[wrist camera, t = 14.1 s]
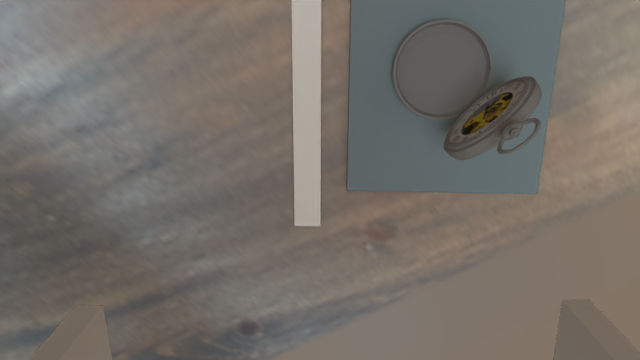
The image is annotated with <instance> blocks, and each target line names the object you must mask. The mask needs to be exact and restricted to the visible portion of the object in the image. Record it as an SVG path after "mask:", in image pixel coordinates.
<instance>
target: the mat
mask: <svg viewBox="0 0 640 360" xmlns="http://www.w3.org/2000/svg"><path fill="white" fill-rule="evenodd" d="M564 7H565V0H351V28H350V75H349V121H348V168H347V191H389V192H450V193H511V194H537V191H538V185H539V178H540V171H541V164H542V157H543V151H544V144H545V137H546V130H547V123H548V116H549V110H550V103H551V96H552V89H553V82H554V75H555V69H556V62H557V55H558V48H559V41H560V35H561V28H562V21H563V14H564ZM440 19H452V20H457V21H462V22H464V23H466V24H468V25H470V26H472V27H473V28H475V29H476V30H477V31H478V32H479V33H480V34H481V35H482V36H483V37H484V39H485V40H486V42H487V44H488V46H489V47H490V51H491V55H492V59H493V72H492V79H491V81H490V84H489V87H488V89H487V91H486V93H487V92H489V91H491V90H492V89H494V88H495V87H497V86H499V85H501V84H503V83H505V82H507V81H509V80H512V79H515V78H519V77H525V76H531V77H533V78H534V79H535V80H536V81H537V82H538V84H539V85H540V88H541V91H542V97H541V101H540V103H539V105H538V106H537V108H536V110H535V111H534V112H533V114H532V115H531V116H530V117H529V118H528V119H531V118H537V119H539V120H540V121H541V127H540V129H539V131H538V133H537V135H536V136H535V137H534V138H533V139H532V140H531V141H530V142H529V143H527V144H526V145H525V146H524V147H522V148H520V149H519V150H517V151H515V152H513V153H510V154H499V153H498V151H497V147H498V145H497V146H495V147H494V148H492V149H490V150H488V151H487V152H485V153H483V154H481V155H479V156H476V157H474V158H471V159H467V160H457V159H455V158H454V157H451V156H450V155H449V154H448V153H447V152H446V151H445V150H444V141H445V139H446V136H447V134H448V132H449V130H450V128H451V127H452V126H453V124H454V123H455V121H456V120H457V119H458V118H459V117H460V116H461V115H460V116H458V117H455V118H452V119H447V120H432V119H427V118H424V117H421V116H419V115H417V114H415V113H414V112H412V111H411V110H410V109H409V108H407V107H406V106H405V105H404V104H403V103H402V101H401V99H400V98H399V96H398V94H397V92H396V90H395V87H394V82H393V63H394V60H395V56H396V53H397V50H398V48H399V47H400V45H401V44H402V42H403V41H404V40H405V39H406V37H407V36H408V35H409V34H410V33H411V32H413V31H414V30H415V29H417V28H418V27H420V26H421V25H423V24H424V23H427V22H431V21H436V20H440ZM486 93H485V94H486ZM485 94H484V95H485ZM488 123H489V122H488ZM488 123H486V124H485V125H487V124H488ZM485 125H484V126H485ZM535 125H536V124H535V123H529V124H525V125H523V128H522V131H521V132H520V135H519V136H518V137H517V138H513V139H511V140H507V141H506V140H505V141H504V143H503V146H502V149H503V150H508V149H512V148H514V147H516V146H517V145H519V144H521V143H522V142H524V141H525V140H526V139H527V138H528V137H529V136H530V135H531V134H532V133H533V131H534V129H535ZM479 130H480V129H479Z"/></svg>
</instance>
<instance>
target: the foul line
mask: <svg viewBox="0 0 640 360" xmlns="http://www.w3.org/2000/svg"><path fill="white" fill-rule="evenodd" d="M292 68H293V144H294V220H295V226H320V225H321V0H292Z"/></svg>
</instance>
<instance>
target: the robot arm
mask: <svg viewBox="0 0 640 360" xmlns="http://www.w3.org/2000/svg"><path fill="white" fill-rule="evenodd" d="M29 360H112V355H111V350H110V344H109V338H108V333H107V327H106V321H105V316H104V310H103V306H76V307H75V308H74V309H73V310H72V311H71V312H70V314H69V315H68V316H67V317H66V318H65V319H64V320H63V321H62V323H61V324H60V325H59V326H58V327H57V328H56V329H55V331H54V332H53V333H52V334H51V335H50V336H49V337H48V338H47V340H46V341H45V342H44V343H43V344H42V345H41V346H40V348H39V349H38V350H37V351H36V352H35V353H34V354H33V355H32V357H31V358H30V359H29ZM553 360H640V351H639V350H638V349H637V348H636V347H635V346H634V345H633V344H632V343H631V342H630V341H629V340H628V339H627V338H626V337H625V336H624V335H623V334H622V333H621V332H620V331H619V330H618V329H617V328H616V326H615V325H614V324H613V323H612V322H611V321H610V320H609V319H608V318H607V317H606V316H605V315H604V314H603V313H602V312H601V311H600V310H599V309H598V308H597V307H596V306H595V305H594V304H593V303H592V302H591V301H590V300H589V299H578V300H577V299H574V300H573V299H572V300H562V303H561V311H560V317H559V324H558V331H557V337H556V344H555V351H554V357H553Z"/></svg>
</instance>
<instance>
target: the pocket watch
mask: <svg viewBox="0 0 640 360" xmlns="http://www.w3.org/2000/svg"><path fill="white" fill-rule="evenodd" d="M492 72H493V59H492V55H491V51H490V47H489V46H488V44H487V42H486V40H485V39H484V37H483V36H482V35H481V34H480V33H479V32H478V31H477V30H476V29H475V28H473V27H472V26H470V25H468V24H466V23H464V22H462V21H457V20H452V19H440V20H436V21H431V22H427V23H424V24H423V25H421V26H420V27H418V28H417V29H415V30H414V31H413V32H411V33H410V34H409V35H408V36H407V37H406V39H405V40H404V41H403V42H402V44H401V45H400V47H399V48H398V50H397V53H396V56H395V60H394V63H393V82H394V87H395V90H396V92H397V94H398V96H399V98H400V99H401V101H402V103H403V104H404V105H405V106H406V107H407V108H409V109H410V110H411V111H412V112H414V113H415V114H417V115H419V116H421V117H424V118H427V119H432V120H447V119H452V118H455V117H458V116H460V115H461V116H460V117H459V118H458V119H457V120H456V121H455V123H454V124H453V126H452V127H451V128H450V130H449V132H448V134H447V136H446V139H445V141H444V150H445V151H446V152H447V153H448V154H449V155H450V156H451V157H454V158H455V159H457V160H467V159H471V158H474V157H476V156H479V155H481V154H483V153H485V152H487V151H488V150H490V149H492V148H494V147H495V146H497V145H498V147H497V151H498V153H499V154H510V153H513V152H515V151H517V150H519V149H520V148H522V147H524V146H525V145H526V144H527V143H529V142H530V141H531V140H532V139H533V138H534V137H535V136H536V135H537V133H538V131H539V129H540V127H541V121H540V120H539V119H537V118H531V119H528V118H529V117H530V116H531V115H532V114H533V112H534V111H535V110H536V108H537V106H538V105H539V103H540V101H541V97H542V91H541V88H540V85H539V84H538V82H537V81H536V80H535V79H534V78H533V77H531V76H525V77H519V78H515V79H512V80H509V81H507V82H505V83H503V84H501V85H499V86H497V87H495V88H494V89H492V90H491V91H489V92H487V93H486V91H487V89H488V87H489V84H490V81H491V79H492ZM485 93H486V94H485ZM484 94H485V95H484ZM488 122H489V123H488ZM486 123H488V124H487V125H485V124H486ZM529 123H535V124H536V125H535V129H534V131H533V133H532V134H531V135H530V136H529V137H528V138H527V139H526V140H525V141H524V142H522V143H521V144H519V145H517V146H516V147H514V148H512V149H508V150H503V149H502V146H503V143H504V141H505V140H506V141H507V140H511V139H513V138H517V137H518V136H519V135H520V132H521V131H522V128H523V125H525V124H529ZM484 125H485V126H484ZM479 129H480V130H479Z"/></svg>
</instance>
